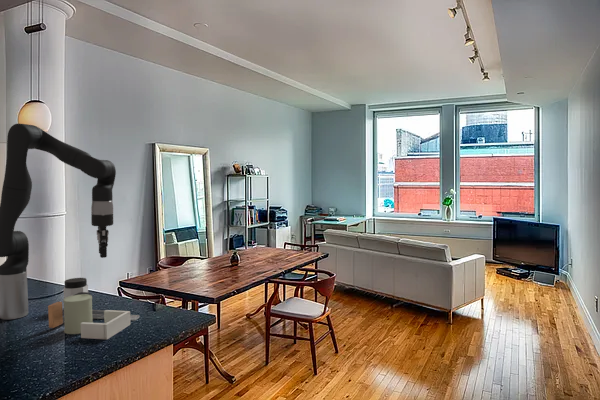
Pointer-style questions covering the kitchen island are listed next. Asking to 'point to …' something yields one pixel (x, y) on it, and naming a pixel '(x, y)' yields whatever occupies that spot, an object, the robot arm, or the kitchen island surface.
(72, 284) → the jar
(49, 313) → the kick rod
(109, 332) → the frame
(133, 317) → the rail
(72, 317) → the can
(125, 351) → the kitchen island surface
